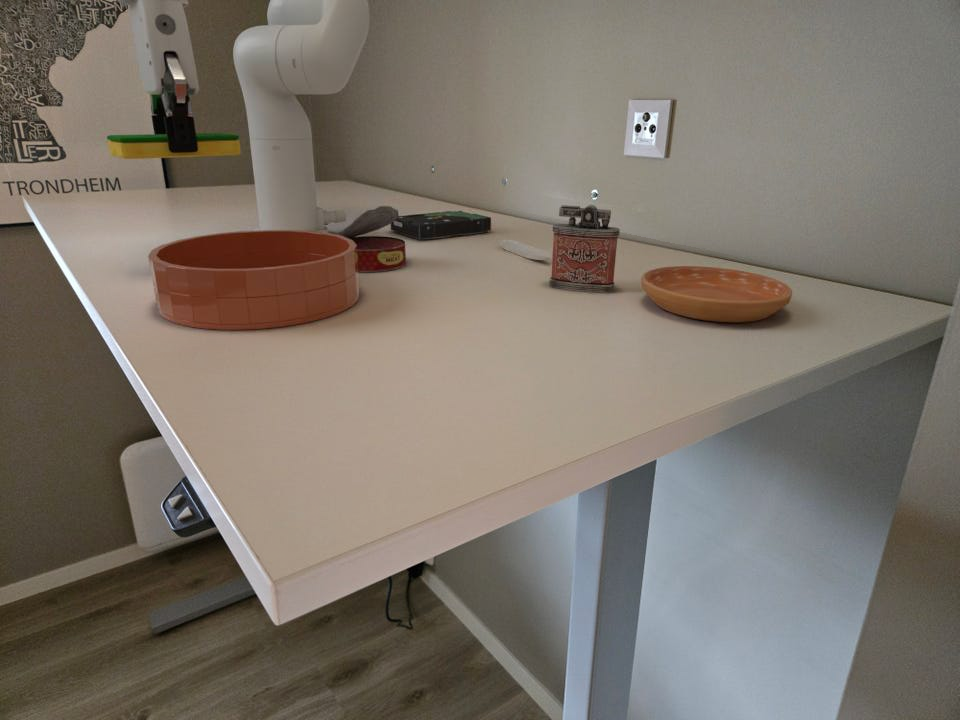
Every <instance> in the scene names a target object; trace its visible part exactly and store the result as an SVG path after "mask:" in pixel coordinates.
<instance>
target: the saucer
mask: <svg viewBox="0 0 960 720" xmlns="http://www.w3.org/2000/svg"><path fill="white" fill-rule="evenodd" d="M640 280H641V281H640V283H641V288H642V290H643V291H644V292H645V294H646V295H647V296H648V297H649V298H650V299H651V300H652V301H653V302H654V304H655V305H657V306H658V307H659V308H661V309H662V310H665V311H667V312H668V313H672V314H675V315H678V316H681V317H686V318H690V319H695V320H702V321H708V322H718V323H751V322H758V321H761V320H765V319H767V318H769V317H770V316H772V315H774V314H775V313H776V312H779V311H780V310H782V309H783V308H785V307H786V306H787V305H788V304H789V303H790V302H791V299H792V297H793V289H792V288H791V287H790V286H789V285H788V284H786V283H784V282H782V281H781V280H778V279H775V278H772V277H770V276H766V275H762V274H758V273H754V272H750V271H745V270H738V269H732V268H723V267H714V266H697V265H689V266H688V265H678V266H665V267H658V268H654V269H651V270H647V271H646V272H644V273H643V274H642V275H641V279H640Z"/></svg>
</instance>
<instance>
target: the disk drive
mask: <svg viewBox="0 0 960 720" xmlns="http://www.w3.org/2000/svg"><path fill="white" fill-rule="evenodd" d="M390 231H393V232H395V233H397V234H400V235H403V236H406V237H409V238H413V239H417V240H433V239H444V238H450V237H455V236H469V235H477V234H478V235H479V234H481V233H488V232H490V231H492V217H490V216H486V215H482V214H478V213H471V212H465V211H463V210H454V211H453V210H452V211H451V210H449V211H448V210H447V211H446V210H445V211H437V212H427V213H417V214H408V215H407V214H405V215H399V216H398V218H397V219H396V220H395V221H394V222H392V223H391V224H390Z"/></svg>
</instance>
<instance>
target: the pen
mask: <svg viewBox="0 0 960 720" xmlns="http://www.w3.org/2000/svg"><path fill="white" fill-rule="evenodd" d="M500 244H501V247H502V248H503V250H505V251H508V252H510V253H513V254H515V255H517V256H520V257H522V258H525V259H529V260H536V261H545V260H549V259H552V256H551V254H550V252H548V251H547V250H543V249H541V248H538V247H535V246H533V245H530V244H527V243H524V242H521V241H519V240H516V239H509V238H507V239H502V240H501V243H500Z"/></svg>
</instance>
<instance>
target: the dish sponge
mask: <svg viewBox="0 0 960 720" xmlns="http://www.w3.org/2000/svg"><path fill="white" fill-rule="evenodd" d="M196 138H197V145H198V151H197V152H184V153H172V152H170V151H169V146H168V140H167V134H154V133H153V134H151V133H150V134H109V135H107V136H106V139H107V140H108V141H107V143H108V149H109V155H110V156H113V157H116V158H119V159H125V160H137V159H138V160H140V159H143V160H144V159H165V158H193V157H217V156H218V157H219V156H239V155H242V150H241V143H240V140H239V139H240V136H239V135H238V134H232V133H221V132H214V133H212V132H211V133H210V132H209V133H207V132H205V133H196Z"/></svg>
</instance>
